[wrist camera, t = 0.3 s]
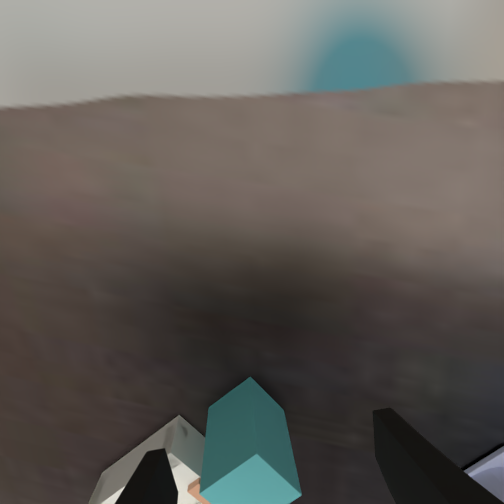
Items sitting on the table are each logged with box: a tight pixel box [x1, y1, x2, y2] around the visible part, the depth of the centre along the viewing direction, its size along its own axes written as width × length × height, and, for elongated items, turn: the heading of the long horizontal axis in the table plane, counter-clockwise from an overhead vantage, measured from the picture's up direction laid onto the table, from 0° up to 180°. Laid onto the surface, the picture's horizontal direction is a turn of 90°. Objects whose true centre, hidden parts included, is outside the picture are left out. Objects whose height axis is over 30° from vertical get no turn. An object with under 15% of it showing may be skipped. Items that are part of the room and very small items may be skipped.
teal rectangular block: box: [199, 377, 302, 504], centre depth 18 cm, size 4×4×6 cm
